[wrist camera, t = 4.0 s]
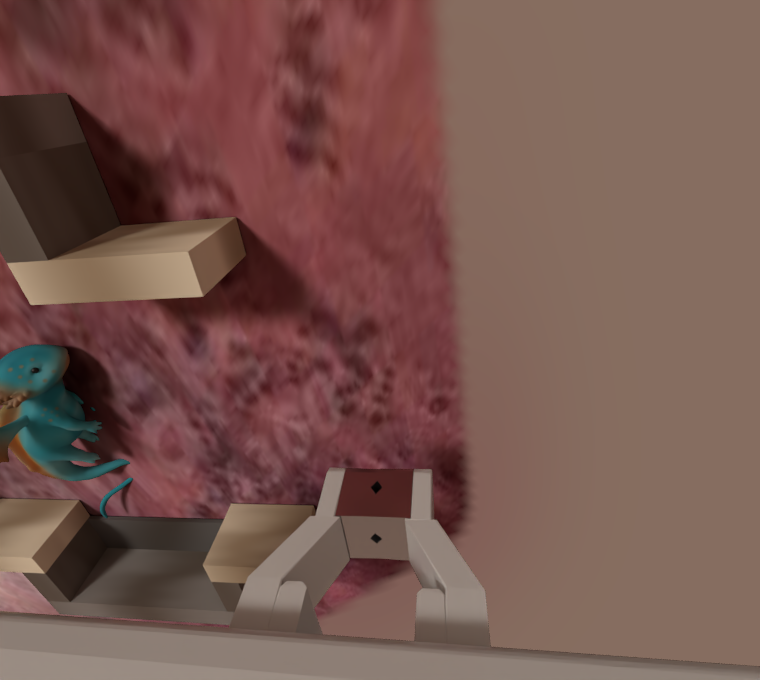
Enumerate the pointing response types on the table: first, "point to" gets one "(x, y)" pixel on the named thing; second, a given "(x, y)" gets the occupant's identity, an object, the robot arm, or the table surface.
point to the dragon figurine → (47, 417)
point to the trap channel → (98, 284)
